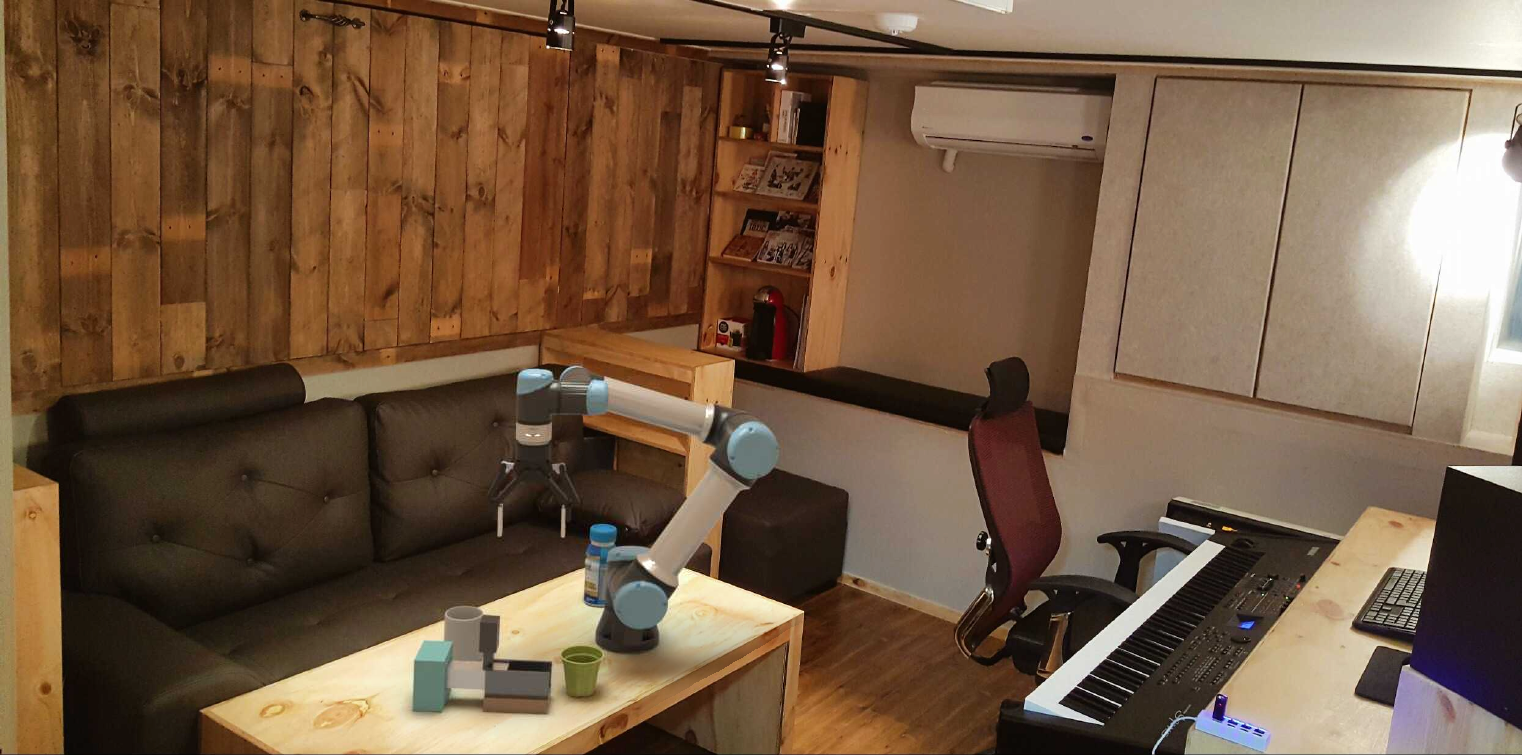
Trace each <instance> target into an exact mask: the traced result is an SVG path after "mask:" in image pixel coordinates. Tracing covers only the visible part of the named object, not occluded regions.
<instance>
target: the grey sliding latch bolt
mask: <svg viewBox="0 0 1522 755" xmlns="http://www.w3.org/2000/svg"><path fill="white" fill-rule="evenodd" d="M500 627H501V615H493V614H490V615H483V617H482V619H481V622H480V638H479V652H482V661H480V662H478V661H455V660H449V662H448V664H447V667H446V684H445V688H451V689H463V690H484V691H485V670H486V669H487V670H509V663H500V662H494V659H495V654H497V651H498V649H499V646H500V634H501V633H500V630H501V629H500Z"/></svg>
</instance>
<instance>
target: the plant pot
mask: <svg viewBox="0 0 1522 755" xmlns="http://www.w3.org/2000/svg"><path fill="white" fill-rule="evenodd" d="M559 657H560V659H561V661H562V662H561V663H562V664H563V671H564V672H563V674H564V681H565V683H564V684H565V691H566V692H565V693H567V694H568V695H570V696H571V697H575V698H578V697H584V698H585V697H586V698H587V697H589V696H592V695H593V694H594V693H595V691H596V685H597V680H598V676H599V671H600V666H601V664H602V661H603V659H604V658H605V652H604V651H603V650H602V648H601V649H600V648H598V647H596V646H593V645H585V644H584V645H583V644H578V645H570V646H568V647H566V648H563V649H562V650H561V651H560V653H559Z"/></svg>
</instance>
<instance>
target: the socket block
mask: <svg viewBox="0 0 1522 755" xmlns="http://www.w3.org/2000/svg"><path fill="white" fill-rule="evenodd" d="M452 659H453V642H451V641H444V640H427V639H424V640H423V642H422V643H421V646H420V648H419V649H418V651H417V654H416V655H415V658H414V660H413V681H412V682H413V683H412V685H413V686H412V688H413V689H412V690H413V691H412V711H413V712H429V711H433V712H434V711H443V712H444V710H445V706H446V705H447V702H448V700H447V699H449V698H450V697H449V696H450V695H451V693H452V688H445V684H446V667H447V664H448V662H449V660H452ZM445 704H446V705H445ZM443 709H444V710H443ZM433 712H432V713H433ZM434 713H435V712H434Z"/></svg>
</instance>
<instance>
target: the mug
mask: <svg viewBox="0 0 1522 755" xmlns="http://www.w3.org/2000/svg"><path fill="white" fill-rule="evenodd" d="M483 615H491V614H489V613H484V611H483V610H482V609H481V608H478V607H476V606H468V605H463V606H462V605H461V606H454V607H451V608H449V609H447V610H446V611H445V613H444V629H443V633H444V634H443V641H451V642H453V659H452V660H455V661H478V662H482V660H483V652H479V638H480V622H481V619H482V617H483Z"/></svg>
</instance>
